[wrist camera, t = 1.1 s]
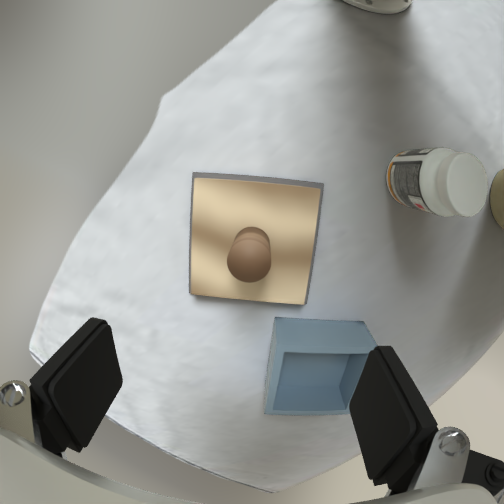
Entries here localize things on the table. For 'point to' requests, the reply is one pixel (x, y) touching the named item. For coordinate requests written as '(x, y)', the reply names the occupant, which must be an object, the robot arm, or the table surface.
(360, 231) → the table surface
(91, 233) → the table surface
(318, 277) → the table surface
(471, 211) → the pill bottle
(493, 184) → the plant pot
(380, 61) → the table surface
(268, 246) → the lid
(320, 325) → the blue square bin
